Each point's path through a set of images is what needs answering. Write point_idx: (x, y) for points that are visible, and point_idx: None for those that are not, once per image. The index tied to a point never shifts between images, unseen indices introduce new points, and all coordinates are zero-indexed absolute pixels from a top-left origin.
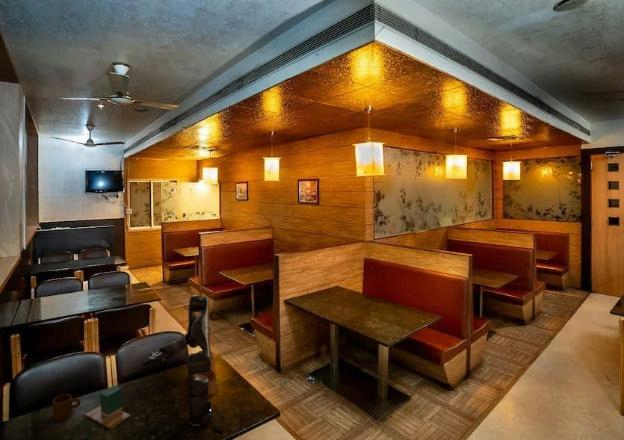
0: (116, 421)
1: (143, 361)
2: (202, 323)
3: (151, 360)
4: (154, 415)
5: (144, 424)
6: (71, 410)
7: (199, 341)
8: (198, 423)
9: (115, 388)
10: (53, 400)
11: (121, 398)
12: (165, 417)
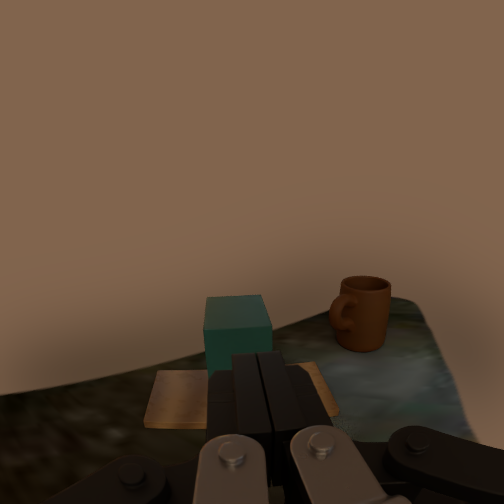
0: (165, 387)
1: (276, 353)
2: None
3: (201, 451)
4: (50, 456)
5: (60, 415)
6: (349, 334)
7: None
8: None
9: (235, 319)
10: (368, 276)
11: (208, 378)
12: (2, 452)
